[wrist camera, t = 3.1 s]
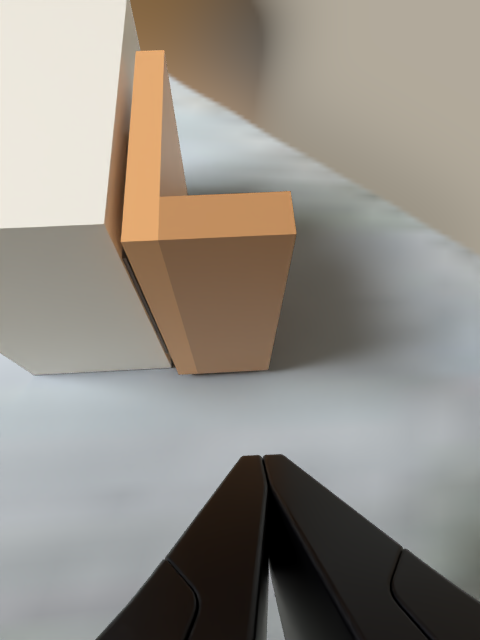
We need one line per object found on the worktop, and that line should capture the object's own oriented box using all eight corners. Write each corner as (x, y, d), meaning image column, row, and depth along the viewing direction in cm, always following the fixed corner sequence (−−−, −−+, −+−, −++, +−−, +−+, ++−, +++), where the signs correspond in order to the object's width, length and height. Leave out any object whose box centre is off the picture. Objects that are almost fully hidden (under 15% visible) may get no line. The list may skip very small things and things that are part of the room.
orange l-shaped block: (268, 369, 18) (296, 233, 9) (178, 374, 17) (120, 241, 9) (257, 243, 20) (270, 46, 12) (179, 247, 20) (135, 51, 12)
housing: (173, 367, 18) (108, 223, 9) (33, 375, 18) (-176, 236, 9) (175, 184, 23) (133, -36, 13) (63, 189, 22) (-57, -31, 13)
